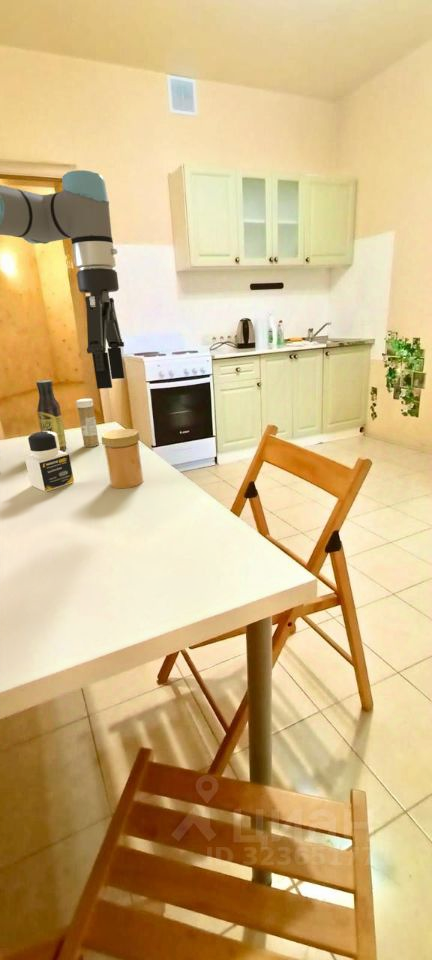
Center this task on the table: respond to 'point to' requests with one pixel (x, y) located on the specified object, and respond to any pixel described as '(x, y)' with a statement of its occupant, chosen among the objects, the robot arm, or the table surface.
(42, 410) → the sauce bottle
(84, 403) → the sprinkles bottle
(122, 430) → the lid
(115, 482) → the jar
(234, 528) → the table surface
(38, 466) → the medicine bottle
